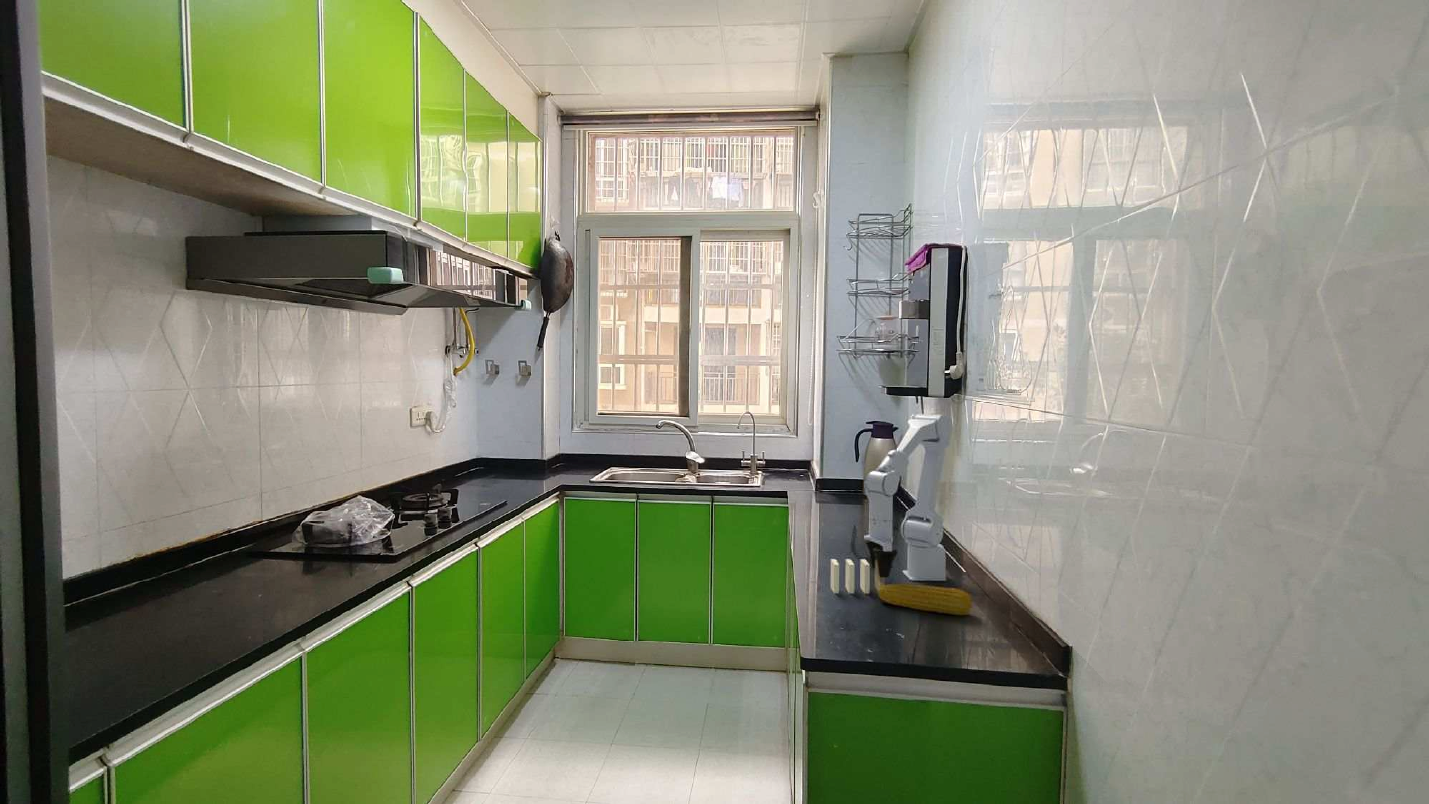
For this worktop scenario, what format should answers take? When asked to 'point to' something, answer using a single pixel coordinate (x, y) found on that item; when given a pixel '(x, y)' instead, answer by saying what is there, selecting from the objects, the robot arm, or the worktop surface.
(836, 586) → the domino
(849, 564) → the domino
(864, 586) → the domino
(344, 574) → the worktop surface
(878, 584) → the domino
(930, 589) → the food
